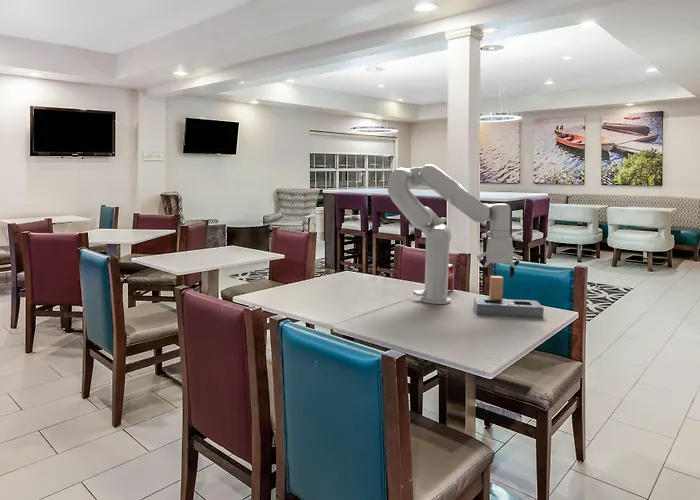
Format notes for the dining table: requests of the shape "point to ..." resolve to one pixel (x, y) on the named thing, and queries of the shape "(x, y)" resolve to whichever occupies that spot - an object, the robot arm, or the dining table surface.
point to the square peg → (496, 287)
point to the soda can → (450, 277)
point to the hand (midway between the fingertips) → (498, 276)
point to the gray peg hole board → (508, 307)
